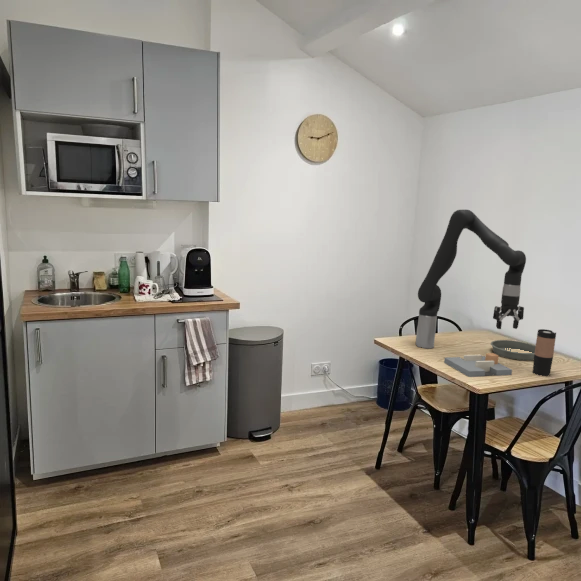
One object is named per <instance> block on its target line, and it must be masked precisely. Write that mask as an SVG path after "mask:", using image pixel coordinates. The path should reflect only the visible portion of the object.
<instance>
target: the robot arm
mask: <svg viewBox="0 0 581 581" xmlns="http://www.w3.org/2000/svg"><path fill="white" fill-rule="evenodd" d="M464 229H465V230H468V231H470V232H472V233H473V234H474V235H476V236H477V237H478V238H479V239H480V240H481V242H482V243H483V244H484V245H485V247H487V248H488V249H489V250H491V252H492V253H495V254H496V255H497V256H498V258H499V259H500V260H501V261H502V262H503V263H504V264H506V265H507V266H508V270H507V271H506V272H505V273H504V279H503V286H502V291H501V299H500V301H501V302H500V303H501V306H498V305H497V306H496V305H495V306H494V310H493V316H492V319H493V320H496V323H495V324H496V329H498V330H502V325H503V320H504V319H505V318H506V317H512V318H513V323H512V328H513V329H515V330H517V329H518V328H519V324H520V320H521V321H522V320H523V319H524V310H525V307H524V306H521V305H519V304H520V298H521V297H520V296H521V283H522V276H523V273H524V269H525V266H526V262H527V256H526V254H525V252H524V251H522V250H514V249H512V247H511V246H509V243H508V241H506V240H505V239H503V238H502V237H501V236H499V234H497V233H495V232H494V231H493V230H491V229H490V228H489V227H488V226H487V225H486V224H485V223H484V222H483V221H482V220H481V219H480V218H479V216H477V215H476V214H475V213H474V212H473V210H469V209H457V210H455V211H454V212H453V213H452V214H451V215H450V219H449V221H448V225H447V227H446V230H445V232H444V236H443V238H442V240H441V242H440V245H439V247H438V249H437V251H436V254H435V256H434V258H433V261H432V263H431V265H430V267H429V269H428V271H427V274H426V276H425V277H424V279H423V281H422V282H421V285H420V286H419V288H418V291H417V298H418V300H419V301H420V302H422V303H424V304H423V305H422V307H420V308H419V311H418V322H417V327H416V336H415V346H416V345H417V346H416V347H418V348H421V347H422V348H421V349H434V347H435V339H436V329H437V319H438V312H439V311H440V309H441V308H440V307H441V300H442V290H441V288H440V286H439V285H438V282H440V280H441V278H443V277H444V276H445V275H446V273H447V272H448V271H449V270H450V269H451V267H452V265H453V264H454V262H455V259H456V257H457V253H458V241H459V238H460V236H461V234H462V232H463V231H464Z"/></svg>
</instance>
